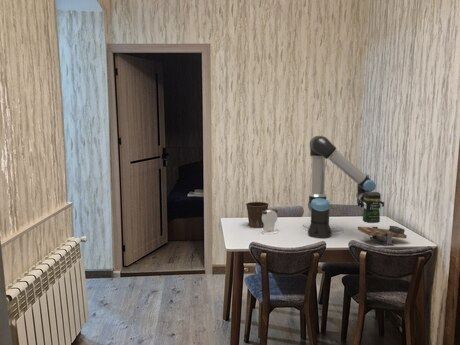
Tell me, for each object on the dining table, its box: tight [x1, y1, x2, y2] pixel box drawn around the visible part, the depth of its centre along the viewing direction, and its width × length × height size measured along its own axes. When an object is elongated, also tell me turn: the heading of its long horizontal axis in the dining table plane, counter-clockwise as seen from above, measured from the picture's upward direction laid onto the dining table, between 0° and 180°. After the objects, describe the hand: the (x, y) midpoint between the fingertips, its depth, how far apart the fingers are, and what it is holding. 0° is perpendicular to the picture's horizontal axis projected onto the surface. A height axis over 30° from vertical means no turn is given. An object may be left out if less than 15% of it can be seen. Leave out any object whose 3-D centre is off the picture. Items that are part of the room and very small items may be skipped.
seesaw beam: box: [357, 225, 408, 239], centre depth 238 cm, size 26×12×5 cm, turn 101°
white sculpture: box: [260, 208, 279, 235], centre depth 261 cm, size 12×11×15 cm
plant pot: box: [245, 201, 269, 229], centre depth 276 cm, size 16×16×16 cm
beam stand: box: [369, 226, 395, 247], centre depth 238 cm, size 6×16×8 cm, turn 12°
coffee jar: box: [362, 191, 382, 224], centre depth 234 cm, size 10×8×19 cm
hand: (373, 206), depth 230 cm, fingers closed on coffee jar, 8 cm apart
